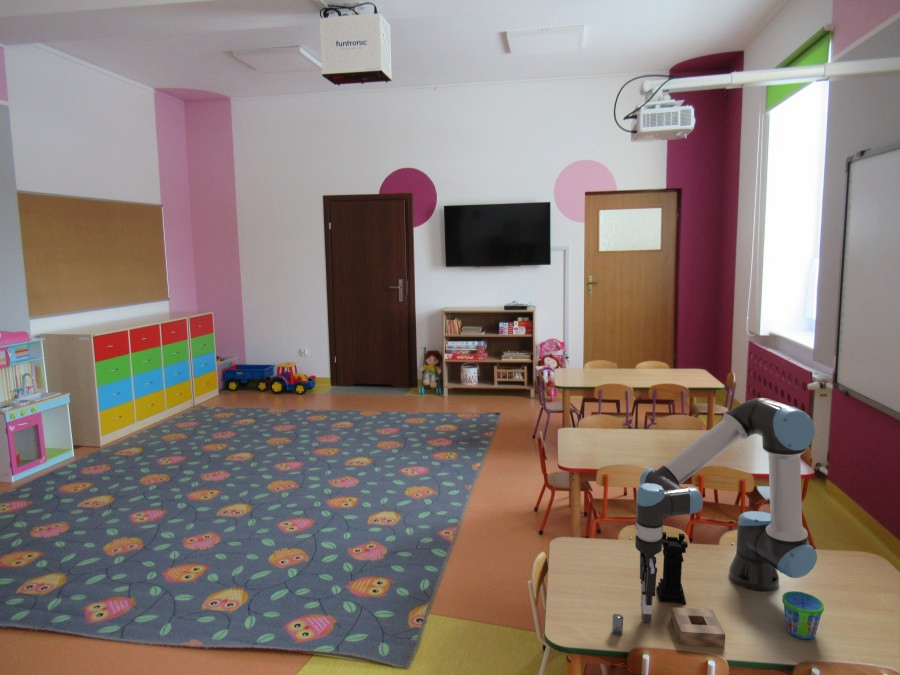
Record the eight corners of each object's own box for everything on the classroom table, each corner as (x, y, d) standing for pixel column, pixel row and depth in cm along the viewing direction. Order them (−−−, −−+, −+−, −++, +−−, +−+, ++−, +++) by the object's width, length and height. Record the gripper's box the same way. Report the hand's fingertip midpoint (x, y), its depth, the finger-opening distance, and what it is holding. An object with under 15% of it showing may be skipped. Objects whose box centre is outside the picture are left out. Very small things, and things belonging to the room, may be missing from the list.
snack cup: (782, 613, 194) (785, 583, 192) (822, 624, 188) (825, 593, 187) (776, 640, 181) (779, 608, 179) (819, 653, 175) (822, 620, 174)
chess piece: (685, 604, 199) (689, 545, 196) (659, 601, 201) (662, 542, 198) (681, 590, 207) (685, 533, 204) (656, 588, 209) (659, 531, 205)
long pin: (650, 616, 192) (651, 579, 190) (652, 622, 189) (653, 585, 187) (640, 615, 192) (641, 579, 190) (641, 621, 189) (643, 584, 187)
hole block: (711, 621, 190) (712, 609, 190) (724, 647, 178) (725, 634, 178) (670, 619, 191) (671, 607, 191) (680, 644, 180) (681, 631, 179)
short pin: (621, 629, 187) (622, 614, 186) (623, 635, 184) (624, 620, 183) (611, 629, 187) (612, 613, 186) (612, 635, 184) (613, 619, 183)
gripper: (631, 523, 194) (629, 594, 198) (640, 549, 179) (638, 625, 182) (656, 524, 194) (653, 595, 197) (668, 550, 178) (665, 626, 182)
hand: (646, 609), depth 190 cm, fingers closed on long pin, 3 cm apart
